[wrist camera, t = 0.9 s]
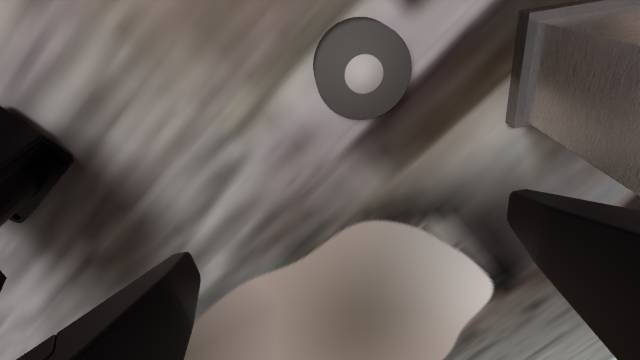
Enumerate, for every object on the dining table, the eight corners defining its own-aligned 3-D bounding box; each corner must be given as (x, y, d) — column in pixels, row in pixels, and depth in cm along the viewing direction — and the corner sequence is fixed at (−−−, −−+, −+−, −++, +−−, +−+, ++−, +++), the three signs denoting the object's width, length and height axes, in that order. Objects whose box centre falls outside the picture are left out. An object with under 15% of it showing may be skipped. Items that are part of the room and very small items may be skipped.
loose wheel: (352, 123, 22) (358, 137, 21) (294, 64, 20) (295, 73, 19) (418, 65, 21) (431, 75, 19) (363, -6, 19) (371, -2, 17)
